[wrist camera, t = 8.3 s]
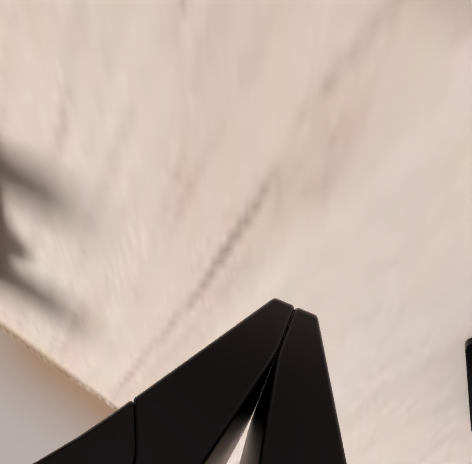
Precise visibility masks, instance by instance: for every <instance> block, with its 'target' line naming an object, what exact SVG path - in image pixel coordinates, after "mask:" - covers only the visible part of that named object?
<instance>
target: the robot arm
mask: <svg viewBox="0 0 472 464" xmlns="http://www.w3.org/2000/svg"><path fill="white" fill-rule="evenodd" d="M292 314H293V315H292ZM290 319H291V320H290ZM288 324H289V325H288ZM277 352H278V353H277ZM465 352H466V366H467V380H468V394H469V407H470V421H471V431H472V338H470V339H468V340H467V341H466V342H465ZM275 357H276V358H275ZM273 362H274V363H273ZM271 367H272V368H271ZM269 372H270V373H269ZM267 377H268V378H267ZM265 382H266V383H265ZM263 387H264V388H263ZM261 392H262V393H261ZM259 397H260V398H259ZM258 400H259V401H258ZM257 402H258V403H257ZM256 405H257V406H256ZM255 407H256V408H255ZM254 410H255V411H254ZM253 412H254V414H253ZM252 414H253V417H252V419H251V416H252ZM250 419H251V423H250V426H249V430H248V433H247V437H246V441H245V445H244V449H243V453H242V457H241V460H240V464H347V463H346V458H345V453H344V448H343V443H342V438H341V433H340V428H339V423H338V418H337V413H336V408H335V403H334V398H333V393H332V387H331V382H330V377H329V372H328V367H327V362H326V357H325V352H324V347H323V342H322V337H321V332H320V327H319V322H318V318H317V316H316V315H314V314H312V313H310V312H307V311H305V310H303V309H300V308H296V309H295V310H294V307H293V305H291V304H288V303H286V302H284V301H281V300H279V299H272V300H270V301H269V302H268V303H266V304H265V305H263V306H262V307H261V308H259V309H258V310H257V311H255V312H254V313H252V314H251V315H250V316H248V317H247V318H245V319H244V320H243V321H241V322H240V323H238V324H237V325H236V326H234V327H233V328H231V329H230V330H229V331H227V332H226V333H224V334H223V335H222V336H220V337H219V338H218V339H216V340H215V341H213V342H212V343H211V344H209V345H208V346H206V347H205V348H204V349H202V350H201V351H199V352H198V353H197V354H195V355H194V356H192V357H191V358H190V359H188V360H187V361H185V362H184V363H183V364H181V365H180V366H178V367H177V368H176V369H174V370H173V371H172V372H170V373H169V374H167V375H166V376H165V377H163V378H162V379H160V380H159V381H158V382H156V383H155V384H153V385H152V386H151V387H149V388H148V389H146V390H145V391H144V392H142V393H141V394H139V395H138V396H137V397H135V398H134V403H133V402H132V401H129V402H128V403H127V404H125V405H124V406H122V407H121V408H120V409H118V410H117V411H115V412H114V413H113V414H111V415H110V416H108V417H107V418H106V419H104V420H102V421H101V422H99V423H98V424H97V425H95V426H94V427H92V428H91V429H89V430H88V431H86V432H85V433H83V434H82V435H81V436H79V437H77V438H75V439H74V440H72V441H71V442H69V443H67V444H65V445H64V446H62V447H61V448H59V449H57V450H55V451H54V452H52V453H50V454H49V455H47V456H46V457H44V458H42V459H40V460H39V461H37V462H35V463H33V464H226V463H227V461H228V460H229V458H230V456H231V454H232V452H233V450H234V449H235V447H236V445H237V443H238V441H239V440H240V438H241V436H242V434H243V432H244V430H245V428H246V427H247V425H248V423H249V421H250Z"/></svg>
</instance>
